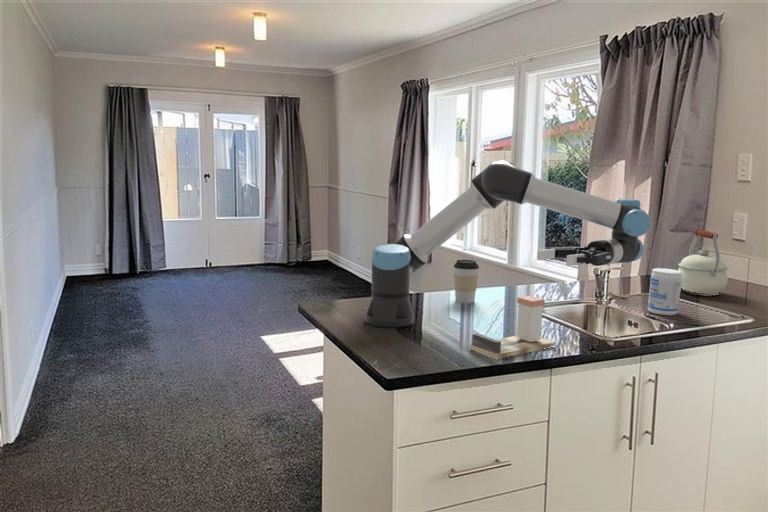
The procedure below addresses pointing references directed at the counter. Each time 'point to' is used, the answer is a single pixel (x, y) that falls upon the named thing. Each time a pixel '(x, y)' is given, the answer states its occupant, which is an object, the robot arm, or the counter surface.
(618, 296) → the tongs
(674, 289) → the supplement tub
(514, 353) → the board
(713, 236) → the kettle
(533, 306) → the block
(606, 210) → the robot arm
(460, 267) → the coffee cup
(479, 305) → the counter surface
